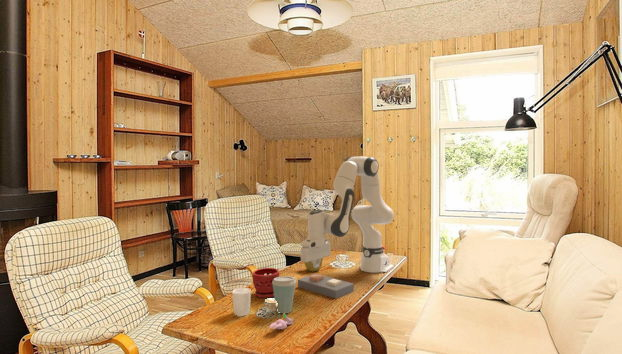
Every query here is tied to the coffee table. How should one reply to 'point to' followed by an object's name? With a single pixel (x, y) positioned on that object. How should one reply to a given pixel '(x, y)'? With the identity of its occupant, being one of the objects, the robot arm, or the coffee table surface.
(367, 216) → the robot arm
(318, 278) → the terracotta key
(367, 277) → the coffee table surface
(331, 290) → the key panel
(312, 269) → the flower pot
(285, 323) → the pink flower
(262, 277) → the plant pot
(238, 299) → the white cup
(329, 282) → the cream key
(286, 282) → the disposable coffee cup
